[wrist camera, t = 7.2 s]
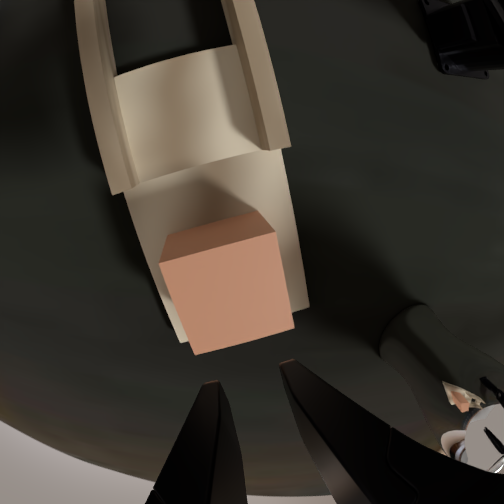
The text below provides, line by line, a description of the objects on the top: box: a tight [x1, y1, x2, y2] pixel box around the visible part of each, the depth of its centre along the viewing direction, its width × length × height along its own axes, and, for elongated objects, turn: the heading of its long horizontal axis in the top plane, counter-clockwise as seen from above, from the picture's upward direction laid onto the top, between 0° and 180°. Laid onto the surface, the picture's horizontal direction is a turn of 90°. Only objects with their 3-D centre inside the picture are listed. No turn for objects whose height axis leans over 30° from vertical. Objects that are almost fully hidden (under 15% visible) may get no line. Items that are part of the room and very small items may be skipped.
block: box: [158, 211, 294, 355], centre depth 15 cm, size 5×5×4 cm
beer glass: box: [379, 304, 504, 473], centre depth 16 cm, size 7×7×15 cm
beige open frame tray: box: [74, 0, 310, 343], centre depth 13 cm, size 8×28×3 cm, turn 13°
